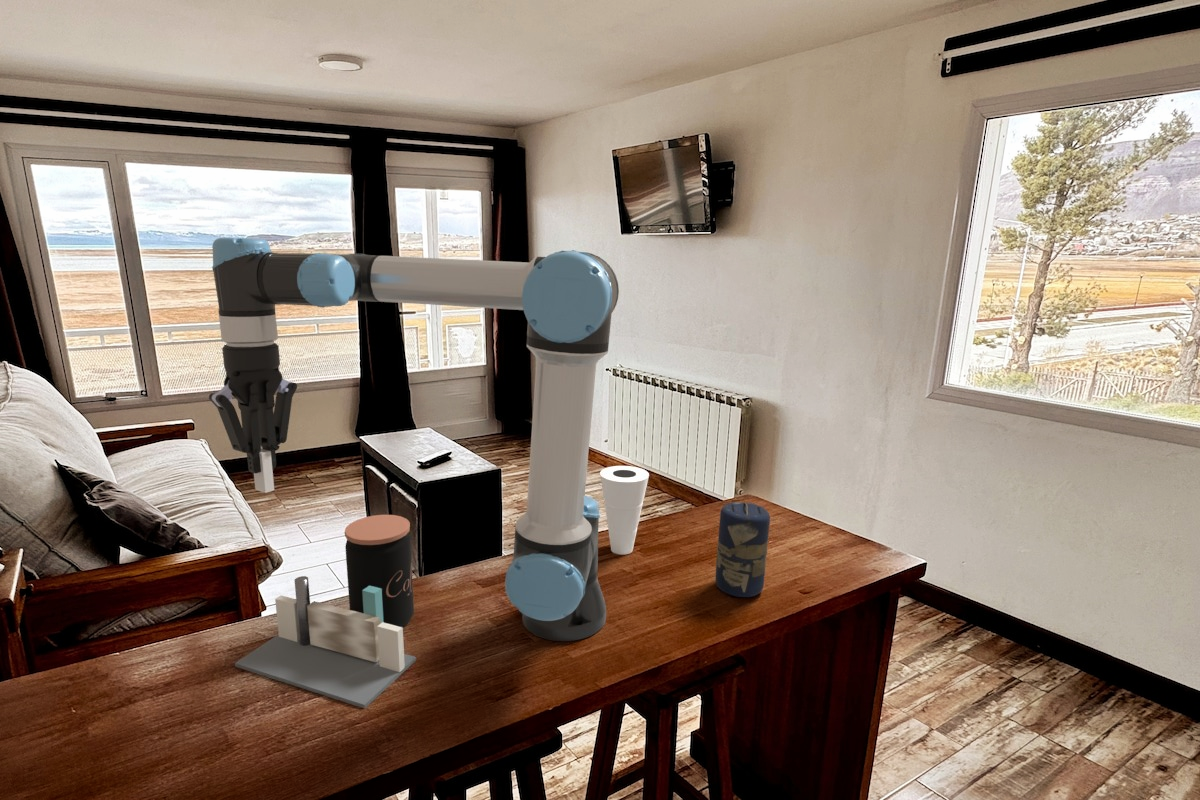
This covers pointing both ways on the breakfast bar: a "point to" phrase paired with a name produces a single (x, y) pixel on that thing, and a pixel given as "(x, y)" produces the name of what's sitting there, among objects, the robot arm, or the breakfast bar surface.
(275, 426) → the robot arm
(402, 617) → the coffee jar
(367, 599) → the bar
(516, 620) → the breakfast bar surface
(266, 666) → the mat
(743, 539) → the canister
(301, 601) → the hinge post
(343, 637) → the gate
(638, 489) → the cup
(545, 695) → the breakfast bar surface
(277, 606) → the fence
